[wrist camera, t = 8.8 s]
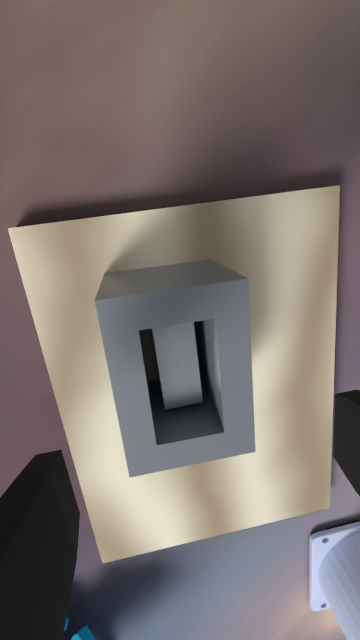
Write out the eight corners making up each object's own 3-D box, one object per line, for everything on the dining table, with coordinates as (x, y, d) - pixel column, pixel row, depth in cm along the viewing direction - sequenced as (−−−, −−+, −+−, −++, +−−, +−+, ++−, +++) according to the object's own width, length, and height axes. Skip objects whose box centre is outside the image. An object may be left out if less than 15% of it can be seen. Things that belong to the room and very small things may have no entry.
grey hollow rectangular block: (211, 259, 16) (248, 278, 11) (221, 388, 18) (255, 451, 13) (104, 273, 15) (94, 300, 10) (128, 405, 17) (129, 477, 13)
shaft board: (327, 186, 16) (340, 185, 15) (321, 495, 23) (330, 508, 22) (15, 227, 15) (7, 228, 14) (103, 548, 21) (102, 563, 20)
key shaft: (179, 299, 16) (193, 321, 13) (188, 365, 17) (202, 401, 14) (146, 304, 16) (151, 328, 12) (157, 371, 17) (165, 409, 14)
